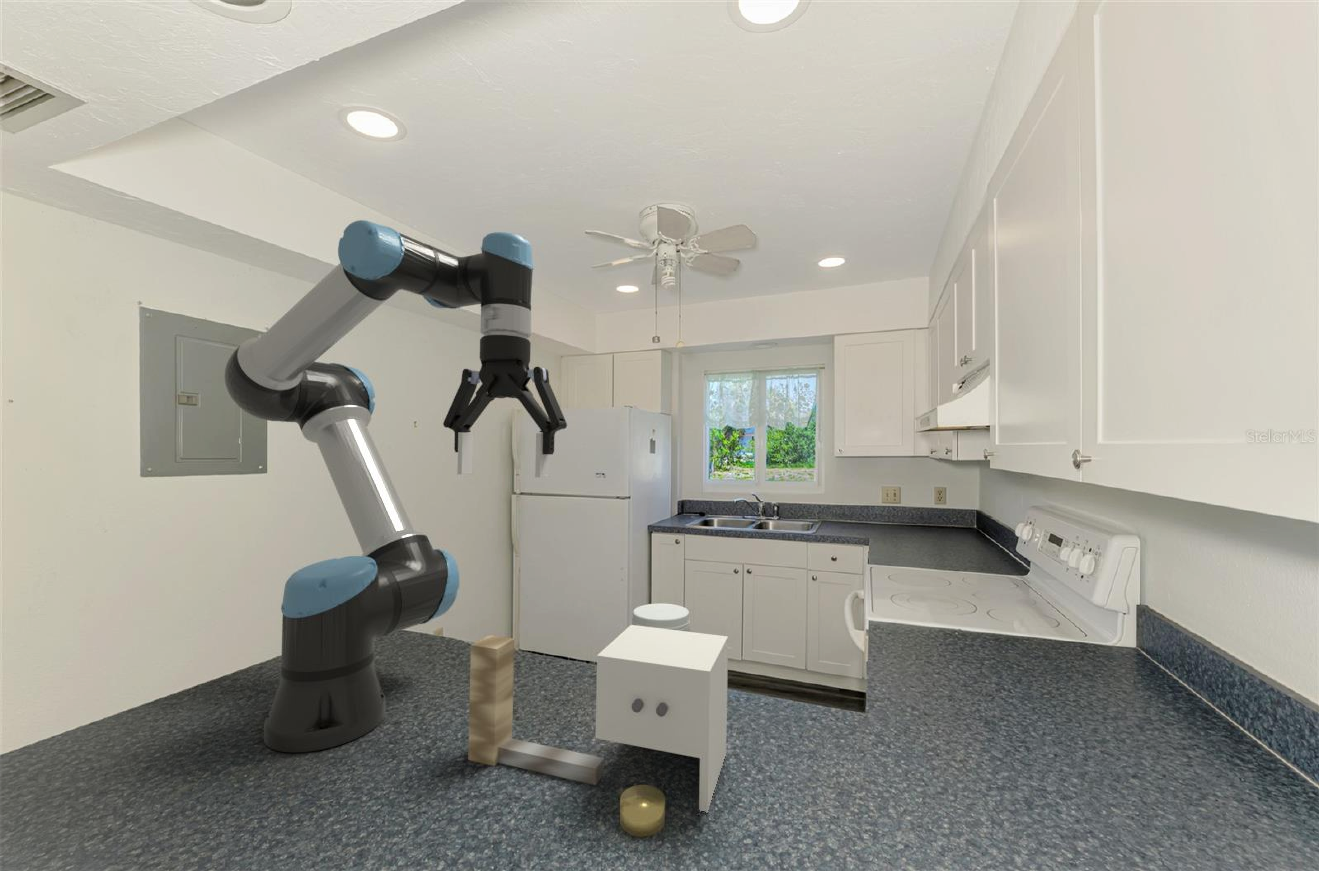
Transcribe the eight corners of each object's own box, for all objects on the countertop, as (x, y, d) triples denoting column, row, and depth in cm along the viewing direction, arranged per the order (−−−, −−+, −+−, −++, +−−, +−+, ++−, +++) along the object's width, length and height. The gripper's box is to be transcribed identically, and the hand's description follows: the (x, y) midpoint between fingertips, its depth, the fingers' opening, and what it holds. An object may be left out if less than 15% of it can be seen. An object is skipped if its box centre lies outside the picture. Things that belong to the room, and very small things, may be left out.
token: (613, 832, 58) (613, 809, 58) (627, 803, 63) (628, 781, 63) (658, 841, 57) (658, 817, 57) (669, 811, 62) (669, 789, 62)
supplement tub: (701, 706, 87) (702, 614, 87) (651, 721, 82) (653, 624, 82) (667, 683, 95) (668, 599, 95) (620, 696, 90) (621, 607, 90)
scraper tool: (468, 759, 71) (470, 644, 71) (486, 744, 75) (489, 635, 75) (593, 789, 65) (595, 664, 66) (606, 770, 69) (608, 652, 70)
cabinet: (591, 792, 65) (594, 658, 65) (628, 737, 77) (630, 624, 77) (705, 817, 61) (708, 674, 61) (726, 755, 73) (727, 636, 73)
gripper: (421, 336, 84) (418, 473, 83) (567, 328, 76) (564, 479, 76) (453, 345, 91) (450, 471, 90) (590, 339, 83) (587, 476, 83)
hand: (502, 475), depth 83 cm, fingers open, 13 cm apart
